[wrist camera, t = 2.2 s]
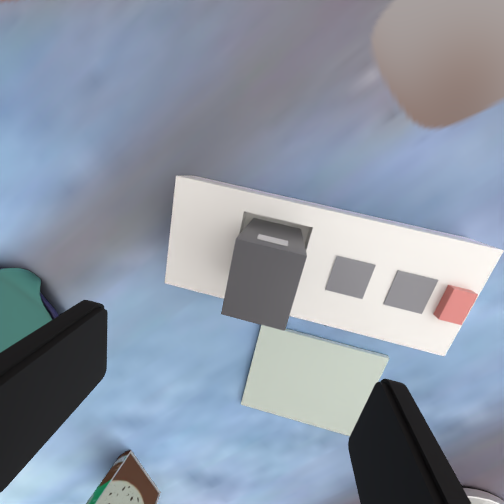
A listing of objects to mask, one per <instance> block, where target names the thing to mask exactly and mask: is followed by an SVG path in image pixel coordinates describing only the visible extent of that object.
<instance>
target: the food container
mask: <svg viewBox="0 0 504 504" xmlns="http://www.w3.org/2000/svg"><path fill="white" fill-rule="evenodd" d="M160 493H161V492H160V491H159V489H158V488H157V486H156V485H155V483H154V482H153V481H152V479H151V478H150V476H149V475H148V473H147V472H146V471H145V469H144V468H143V466H142V465H141V463H140V462H139V461H138V459H137V458H136V456H135V455H134V453H133V452H132V451H131V450H129V451H126V452H124V453H123V454H122V455H120V456H119V458H118V459H117V461H116V462H115V463H114V465H113V466H112V468H111V469H110V470H109V472H108V473H107V475H106V476H105V478H104V479H103V480H102V482H101V483H100V485H99V486H98V487H97V489H96V490H95V492H94V493H93V495H92V496H91V497H90V499H89V500H88V502H87V503H86V504H157V502H158V499H159V496H160Z"/></svg>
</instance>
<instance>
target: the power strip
mask: <svg viewBox="0 0 504 504" xmlns="http://www.w3.org/2000/svg"><path fill="white" fill-rule="evenodd" d="M253 218H257V219H262V220H266V221H270V222H274V223H279V224H283V225H287V226H291V227H296V228H300V229H301V231H302V235H303V240H304V244H305V249H306V253H307V258H306V261H305V265H304V268H303V271H302V275H301V278H300V282H299V285H298V288H297V292H296V295H295V298H294V302H293V305H292V308H291V312H290V315H289V316H292V317H296V318H300V319H304V320H307V321H311V322H315V323H319V324H323V325H327V326H330V327H334V328H338V329H342V330H346V331H349V332H353V333H357V334H361V335H365V336H369V337H372V338H376V339H380V340H384V341H388V342H392V343H395V344H399V345H403V346H407V347H411V348H415V349H418V350H422V351H426V352H430V353H434V354H437V355H441V356H445V354H446V353H447V351H448V349H449V347H450V346H451V344H452V342H453V340H454V338H455V337H456V335H457V333H458V331H459V330H460V328H461V326H462V324H463V322H464V321H465V319H466V317H467V315H468V314H469V312H470V310H471V308H472V306H473V305H474V303H475V301H476V299H477V298H478V296H479V294H480V292H481V290H482V289H483V287H484V285H485V283H486V281H487V280H488V278H489V276H490V274H491V273H492V271H493V269H494V267H495V265H496V264H497V262H498V260H499V258H500V257H501V255H502V253H503V251H504V250H501V249H498V248H495V247H493V246H490V245H487V244H484V243H481V242H478V241H476V240H473V239H470V238H466V237H462V236H458V235H453V234H449V233H444V232H440V231H436V230H431V229H427V228H422V227H418V226H414V225H409V224H405V223H400V222H396V221H392V220H387V219H383V218H378V217H374V216H370V215H365V214H361V213H356V212H352V211H348V210H343V209H339V208H334V207H330V206H326V205H321V204H317V203H312V202H308V201H304V200H299V199H295V198H290V197H286V196H282V195H277V194H273V193H268V192H264V191H260V190H255V189H251V188H246V187H242V186H238V185H233V184H229V183H224V182H220V181H216V180H211V179H207V178H202V177H198V176H176V182H175V191H174V201H173V210H172V219H171V229H170V238H169V247H168V257H167V266H166V276H165V283H166V284H170V285H174V286H177V287H181V288H185V289H189V290H193V291H196V292H200V293H204V294H208V295H212V296H216V297H219V298H223V299H224V297H225V292H226V286H227V281H228V276H229V271H230V266H231V261H232V256H233V251H234V246H235V240H236V238H237V237H238V236H239V234H240V233H241V232H242V231H243V230H244V228H245V227H246V226H247V225H248V224H249V222H250V221H251V220H252V219H253Z"/></svg>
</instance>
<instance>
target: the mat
mask: <svg viewBox="0 0 504 504" xmlns="http://www.w3.org/2000/svg"><path fill="white" fill-rule="evenodd" d="M388 360H389V357H388V356H387V355H384V354H380V353H376V352H372V351H369V350H365V349H361V348H357V347H354V346H350V345H346V344H342V343H339V342H335V341H331V340H327V339H323V338H320V337H316V336H312V335H308V334H305V333H301V332H297V331H293V330H290V329H285V331H283V330H279V329H275V328H272V327H268V326H264V325H261V328H260V332H259V336H258V340H257V344H256V347H255V351H254V355H253V359H252V363H251V367H250V371H249V374H248V378H247V382H246V386H245V390H244V394H243V398H242V402H241V405H244V406H248V407H251V408H255V409H258V410H261V411H265V412H268V413H272V414H275V415H279V416H282V417H285V418H289V419H292V420H296V421H299V422H303V423H306V424H309V425H313V426H316V427H320V428H323V429H327V430H330V431H334V432H337V433H340V434H344V435H347V436H350V435H351V433H352V431H353V429H354V427H355V425H356V423H357V421H358V419H359V416H360V414H361V412H362V410H363V408H364V406H365V404H366V402H367V400H368V398H369V396H370V394H371V392H372V390H373V387H374V385H375V384H376V383H377V382H378V381H379V379H380V377H381V375H382V373H383V371H384V369H385V366H386V364H387V362H388Z"/></svg>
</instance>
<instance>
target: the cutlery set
mask: <svg viewBox="0 0 504 504" xmlns="http://www.w3.org/2000/svg"><path fill="white" fill-rule="evenodd" d="M40 285H41V279H40V278H39V277H38V276H36V275H35V274H33V273H32V272H30V271H28V270H25V269H21V268H5V269H3V268H1V267H0V353H1V352H2V351H4V350H5V349H7V348H8V347H10V346H12V345H13V344H15V343H16V342H18V341H20V340H21V339H23V338H24V337H26V336H27V335H29V334H31V333H32V332H34V331H35V330H37V329H39V328H40V327H42V326H43V325H45V324H46V323H48V322H50V321H51V320H53V319H54V318H56V317H57V316H59V315H58V313H57V312H56V310H55V309H54V307H53V306H52V305H51V304H50V303H49V302H48V301H47V299H46V298H45V297H44V296H43V295H42V294H41V293H40Z"/></svg>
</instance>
